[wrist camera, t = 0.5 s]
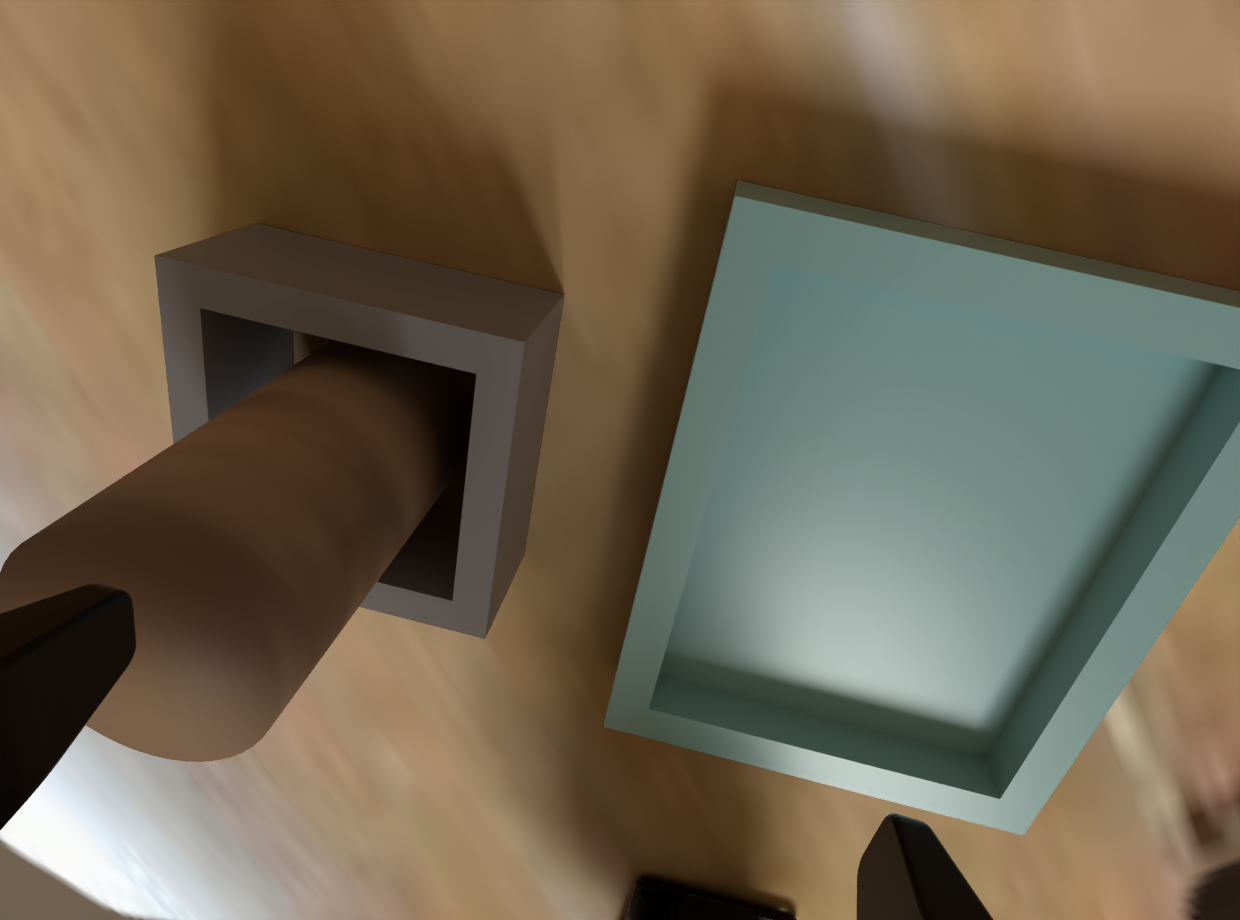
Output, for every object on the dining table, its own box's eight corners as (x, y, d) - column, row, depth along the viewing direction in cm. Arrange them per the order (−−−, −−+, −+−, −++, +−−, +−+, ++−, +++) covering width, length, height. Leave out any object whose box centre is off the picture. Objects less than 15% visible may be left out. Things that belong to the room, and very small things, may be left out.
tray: (1000, 769, 25) (1023, 835, 23) (616, 670, 26) (603, 726, 24) (1288, 301, 18) (1362, 335, 16) (737, 180, 18) (734, 195, 16)
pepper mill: (474, 494, 24) (281, 790, 14) (319, 456, 24) (25, 721, 14) (491, 342, 21) (275, 571, 12) (319, 302, 22) (-32, 494, 12)
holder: (523, 556, 24) (484, 638, 21) (265, 492, 25) (185, 562, 21) (564, 294, 20) (524, 342, 17) (255, 223, 21) (154, 255, 17)
